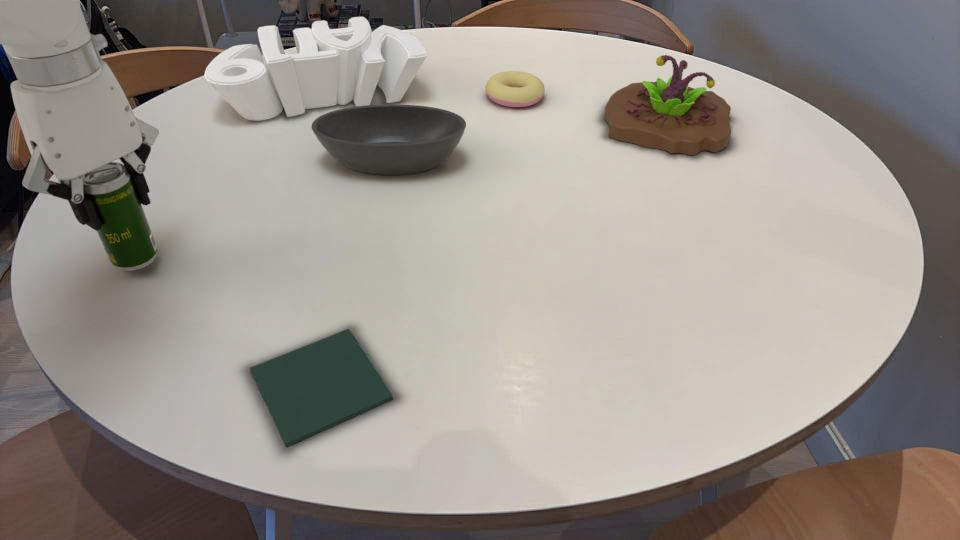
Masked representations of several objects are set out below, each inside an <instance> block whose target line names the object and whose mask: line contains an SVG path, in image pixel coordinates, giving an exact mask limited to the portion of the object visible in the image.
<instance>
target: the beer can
mask: <svg viewBox="0 0 960 540" xmlns="http://www.w3.org/2000/svg"><path fill="white" fill-rule="evenodd" d="M83 191H84V196H86V197H87V198H89V199H90V200H91V201H92V203H93V206H94V208H95V210H96V213H97V215H98V217H99V220H100V222H101V225H102V227H101V229H100V230H98V231H96V232H97V235H98V237H99V239H100V241H101V244H102V246H103V248H104V251H105V254H106V255H107V257H108V260H109V262H110V263H111V264H112V266H114V267H115V268H116V269H119V270H120V271H126V272H128V271H129V272H132V271H138V270H142V269H144V268H145V267H147V266H149V265H151V264H152V263H153V262H154V261H155V259H156V258H157V255H158V245H157V243H156V240H155V237H154V235H153V232H152V229H151V227H150V225H149V224H150V223H149V222H148V218H147V216H146V213H145V210H144V207H143V204H141V202H140V200H139V197H138V194H137V192H136V189H135V186H134V184H133V181H132V178H131V176H130V174H129V173H128V172H127V171H126V169H125V166H124V165H123V163H122V162H121V163H120V162H118V161H112V162H110V163H108V164H106V165H103V166H101V167H99V168H97V169H94V170H92V171H90V172H88V173H85V174H83Z"/></svg>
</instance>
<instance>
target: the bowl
mask: <svg viewBox="0 0 960 540" xmlns="http://www.w3.org/2000/svg"><path fill="white" fill-rule="evenodd" d="M466 126H467V122H466V120H465V118H463V117H462V116H461V115H459V114H458V113H455V112H453V111H450V110H447V109H442V108H438V107H432V106H425V105H418V104H417V105H416V104H397V103H396V104H395V103H394V104H393V103H386V104H370V105H366V106H356V105H355V106H350V107H345V108H339V109H336V110H335V109H334V110H332V111H329V112H326V113H324V114H322V115H320V116H318V117H317V118H315V119H314V120H313V122H312V123H311V130H312V132H313V134H314V135H315V137H316V139H317V140H318V141H319V143H320V145H321V146H322V147H323V148H324V149H325V150H326V152H328V153H329V155H331V157H332V158H334V159H335V160H336V161H338V162H339V163H341V164H342V165H344V166H345V167H346V168H349V169H350V170H353V171H355V172H359V173H363V174H369V175H379V176H404V175H412V174H419V173H424V172H428V171H431V170H433V169H436V168H437V167H438V166H440V165H441V164H442V163H444V161H446V160H447V159H448V158H449V157H450V156H451V155H452V154H453V152H455V150H456V148H457V147H458V145H459V143H460V141H461V140H462V137H463V135H464V133H465V130H466V128H467V127H466Z"/></svg>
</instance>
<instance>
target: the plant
mask: <svg viewBox="0 0 960 540" xmlns="http://www.w3.org/2000/svg"><path fill="white" fill-rule="evenodd" d="M668 61H671V64H672V75H671V76H670V77H669V78H668V80H667V82H665V81H664V80H663V79H662V78H660V77H657V78H656V81H648V80H646V81H645V80H642V81H641V82H632V83H630V84H628V85H626V86H624V87H622V88H620V89H618V90H616V91H615V92H614V93H613V94H611V95H610V97H609V99H608V101H607V103H606V105H605V108H604V114H603V115H604V116H603V119H604V121H606V123H607V124H608V127H609V129H608V137H609V138H612V139H614V140H617V141H619V142H623V143H631V144H634V145H638V146H640V147H644V148H649V149H654V150H655V149H656V150H663V151H665V152H668V153H670V154H672V155H673V154H684V155H687V156H695V155H697V154H699V153H701V152H703V151H706V152H711V153H718V152H720V151H723V150H724V149H725V148H727V146H728V145H729V142H730V140H731V139H730V138H731V134H732V127H731V124H730V114H731V110H732V108H731V105H730V104H728V103H727V101H726V100H725V98H724V97H721V96H720V95H719V94H716V93H715V92H714V91H712V90H707V88H708V89H712V88H714V87H715V85H716V81H715V79H714V78H713V76H711V75H709V74H708V73H706V72H705V71H704V72H702V71H699V72H698V71H696V72H693V73H690V74H689V75H687V76H686V77H685V78H683V74H684V73H683V72H684V70H687V68H688V66H689V63H688V61H686V60H684V59H681V60H680V62H679V64H678V61H677V59H676V58H674V57H673V56H671V55H667V54H665V55H659V56H658V57H657V58H656V60H655V64H656V66H658V67H663V66H664V65H666V63H667V62H668ZM697 77H705V78H706V82H705V85H706V87H696V88H694V87H691V86H689V84H690V83H691V82H692V81H693V80H694V79H696V78H697Z"/></svg>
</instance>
